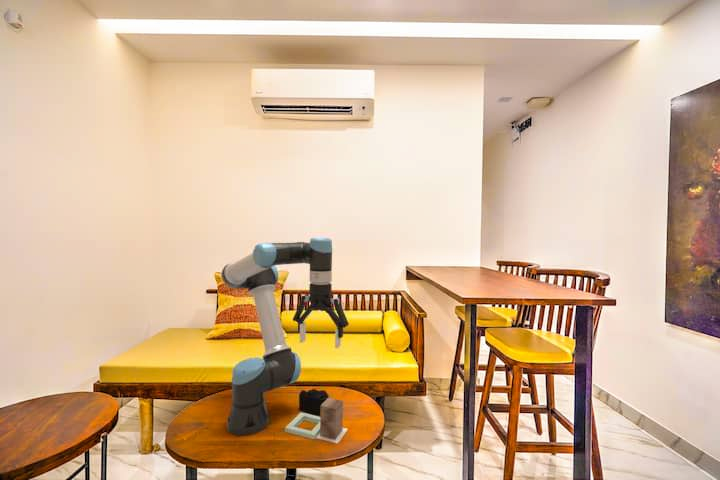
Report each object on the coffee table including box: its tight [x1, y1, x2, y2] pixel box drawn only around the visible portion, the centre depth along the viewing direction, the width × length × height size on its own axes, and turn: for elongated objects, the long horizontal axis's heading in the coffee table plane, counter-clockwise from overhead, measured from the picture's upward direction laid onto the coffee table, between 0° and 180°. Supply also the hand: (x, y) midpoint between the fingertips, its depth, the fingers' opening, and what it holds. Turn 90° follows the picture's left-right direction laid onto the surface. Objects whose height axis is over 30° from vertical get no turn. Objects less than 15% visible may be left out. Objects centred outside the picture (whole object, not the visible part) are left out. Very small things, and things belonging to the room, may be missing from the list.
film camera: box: [298, 388, 330, 417], centre depth 138 cm, size 15×10×9 cm, turn 56°
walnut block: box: [320, 397, 344, 440], centre depth 121 cm, size 6×6×11 cm
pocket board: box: [284, 411, 320, 440], centre depth 125 cm, size 12×11×2 cm
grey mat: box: [315, 427, 349, 444], centre depth 121 cm, size 9×9×1 cm
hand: (319, 344), depth 115 cm, fingers open, 13 cm apart
